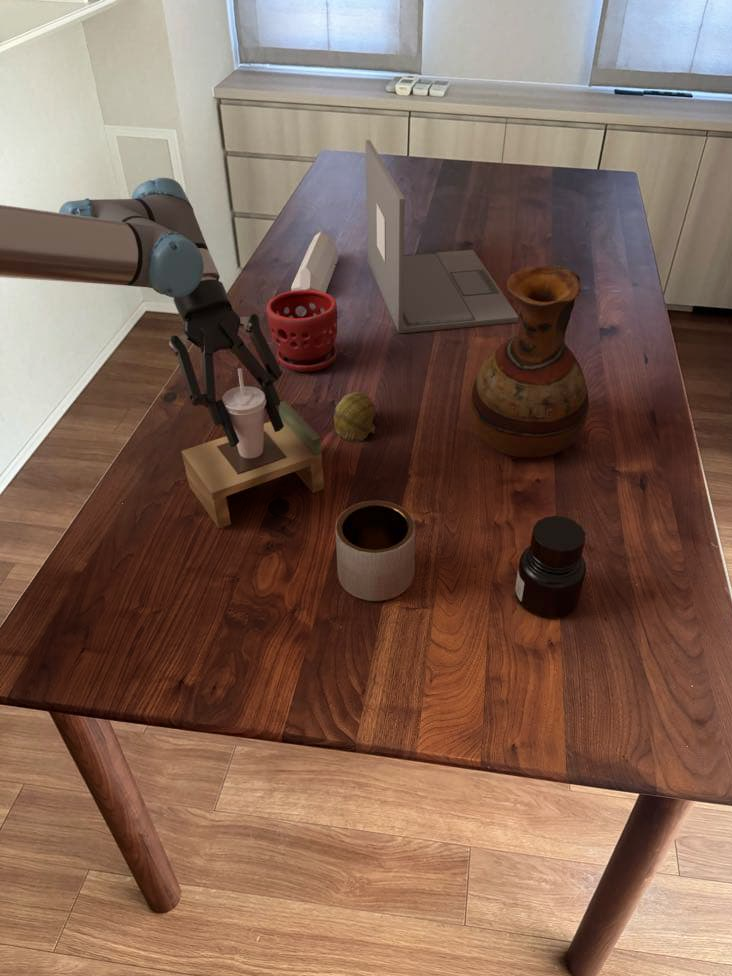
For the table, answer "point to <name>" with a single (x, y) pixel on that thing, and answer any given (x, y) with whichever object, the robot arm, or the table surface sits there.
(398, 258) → the laptop
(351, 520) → the planter
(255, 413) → the smoothie
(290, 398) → the table surface
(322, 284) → the white triangular prism
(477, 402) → the clay vase
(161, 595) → the table surface
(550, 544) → the ink bottle
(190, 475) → the small wooden bench
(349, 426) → the seashell
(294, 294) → the flower pot
